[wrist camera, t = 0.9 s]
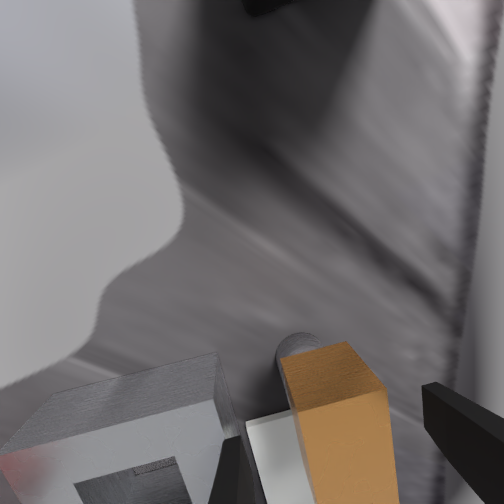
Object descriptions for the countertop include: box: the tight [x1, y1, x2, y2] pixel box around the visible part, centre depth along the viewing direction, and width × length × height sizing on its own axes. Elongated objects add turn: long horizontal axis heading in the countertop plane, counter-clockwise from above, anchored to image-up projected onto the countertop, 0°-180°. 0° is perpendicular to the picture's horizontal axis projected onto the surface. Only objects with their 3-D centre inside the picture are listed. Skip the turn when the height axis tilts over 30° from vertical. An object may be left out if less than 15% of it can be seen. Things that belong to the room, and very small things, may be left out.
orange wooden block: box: [276, 333, 399, 504], centre depth 11 cm, size 6×3×6 cm, turn 13°
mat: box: [246, 410, 315, 504], centre depth 15 cm, size 9×7×1 cm
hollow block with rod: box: [0, 352, 252, 504], centre depth 13 cm, size 14×9×3 cm, turn 13°
